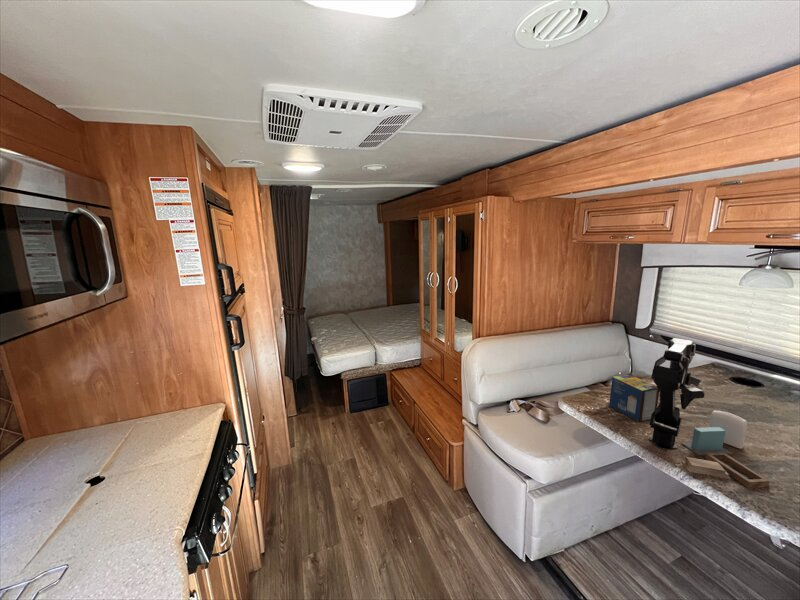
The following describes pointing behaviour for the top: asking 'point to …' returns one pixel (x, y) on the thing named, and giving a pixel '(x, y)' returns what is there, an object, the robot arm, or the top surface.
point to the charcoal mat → (703, 452)
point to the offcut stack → (705, 467)
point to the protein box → (633, 397)
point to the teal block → (708, 438)
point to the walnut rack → (757, 479)
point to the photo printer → (730, 427)
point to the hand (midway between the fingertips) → (673, 403)
